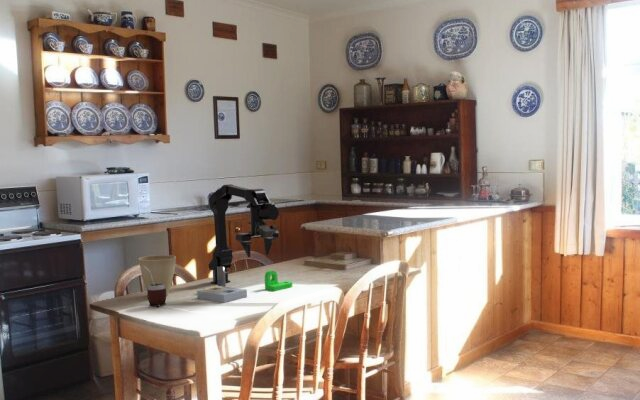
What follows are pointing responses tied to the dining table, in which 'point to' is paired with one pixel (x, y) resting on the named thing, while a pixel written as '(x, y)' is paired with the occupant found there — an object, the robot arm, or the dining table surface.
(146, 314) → the dining table surface
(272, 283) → the mechanical part
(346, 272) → the dining table surface
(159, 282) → the plant pot
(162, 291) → the mate gourd
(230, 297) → the socket board
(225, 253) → the robot arm
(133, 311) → the dining table surface
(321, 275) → the dining table surface
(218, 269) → the pin
